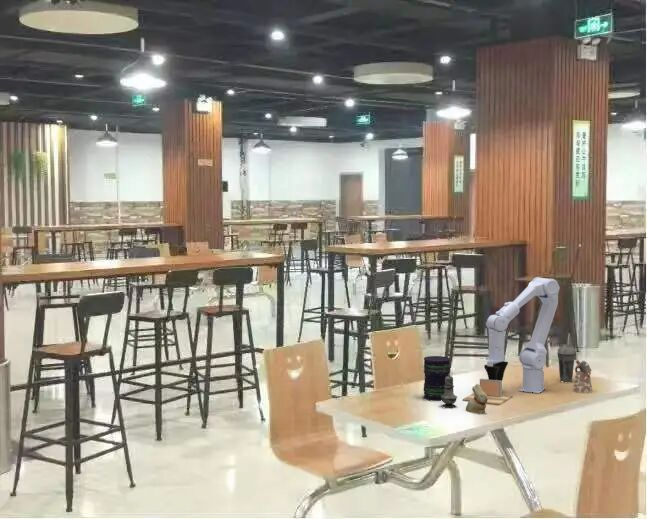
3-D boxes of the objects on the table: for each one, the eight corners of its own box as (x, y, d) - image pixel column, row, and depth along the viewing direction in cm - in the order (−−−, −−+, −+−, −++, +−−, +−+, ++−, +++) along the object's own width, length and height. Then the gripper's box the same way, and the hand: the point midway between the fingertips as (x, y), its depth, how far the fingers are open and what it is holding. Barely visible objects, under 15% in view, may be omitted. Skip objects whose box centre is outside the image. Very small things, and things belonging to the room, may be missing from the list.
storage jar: (449, 401, 302) (449, 361, 302) (422, 400, 304) (422, 360, 304) (450, 395, 312) (451, 356, 311) (424, 394, 314) (424, 355, 313)
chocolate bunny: (474, 414, 283) (474, 386, 283) (464, 409, 291) (464, 381, 290) (488, 413, 285) (489, 385, 284) (478, 408, 292) (478, 380, 292)
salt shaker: (444, 408, 292) (444, 375, 291) (438, 405, 297) (438, 372, 296) (460, 407, 293) (460, 374, 292) (453, 404, 299) (453, 371, 298)
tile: (481, 394, 312) (481, 378, 311) (501, 396, 308) (501, 380, 307) (479, 395, 310) (479, 379, 310) (500, 397, 306) (500, 381, 306)
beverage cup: (553, 380, 339) (553, 332, 337) (568, 379, 341) (569, 331, 339) (563, 384, 332) (564, 334, 330) (578, 383, 334) (579, 334, 333)
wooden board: (477, 392, 316) (477, 391, 316) (512, 397, 309) (512, 395, 309) (462, 400, 304) (462, 399, 304) (499, 405, 296) (499, 403, 296)
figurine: (588, 394, 314) (589, 363, 313) (570, 391, 318) (570, 360, 318) (594, 390, 320) (595, 360, 319) (576, 388, 324) (577, 358, 323)
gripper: (492, 343, 321) (492, 377, 322) (479, 348, 309) (479, 384, 310) (510, 344, 318) (510, 379, 318) (497, 350, 305) (497, 386, 306)
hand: (496, 382), depth 314 cm, fingers open, 7 cm apart
